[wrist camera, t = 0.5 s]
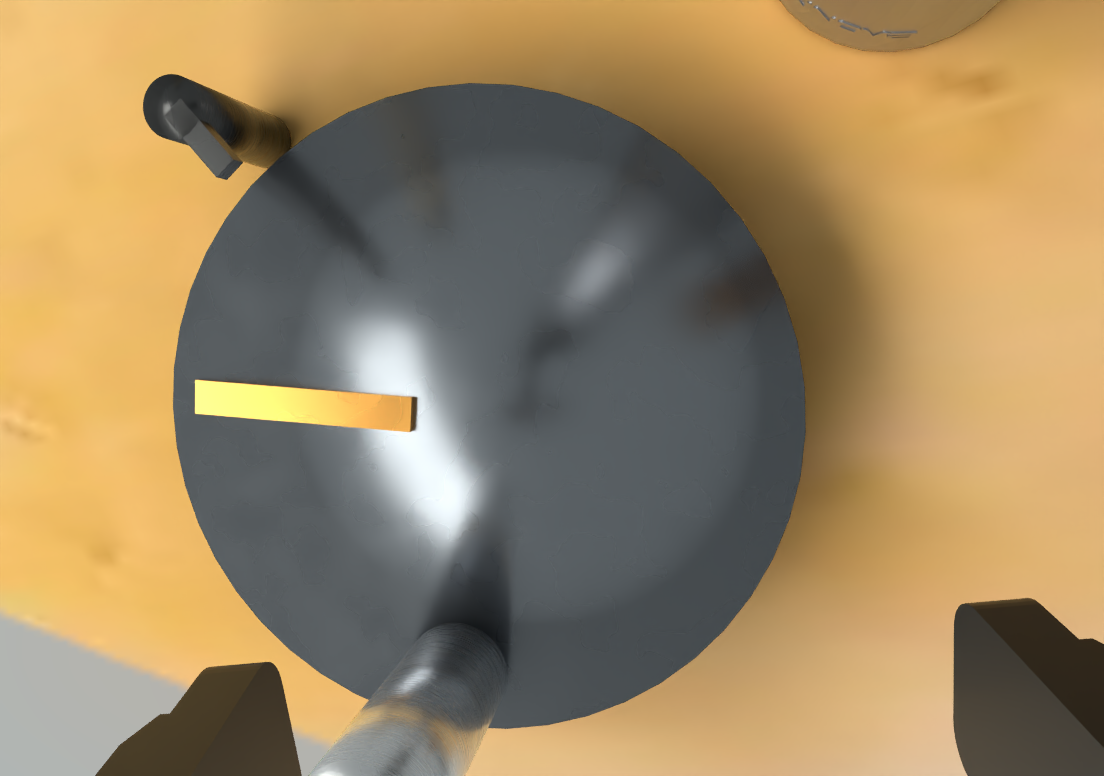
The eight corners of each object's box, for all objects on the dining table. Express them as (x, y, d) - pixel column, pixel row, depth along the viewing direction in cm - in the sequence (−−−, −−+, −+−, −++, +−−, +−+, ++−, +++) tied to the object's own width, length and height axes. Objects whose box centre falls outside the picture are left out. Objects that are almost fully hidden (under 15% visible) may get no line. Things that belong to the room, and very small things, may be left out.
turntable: (316, -2, 29) (111, -163, 19) (917, 245, 27) (1055, 213, 17) (123, 549, 33) (-137, 664, 23) (637, 810, 30) (608, 1072, 20)
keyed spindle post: (252, 107, 32) (154, 64, 26) (714, 306, 30) (719, 307, 24) (150, 404, 34) (38, 426, 29) (575, 609, 32) (549, 679, 26)
